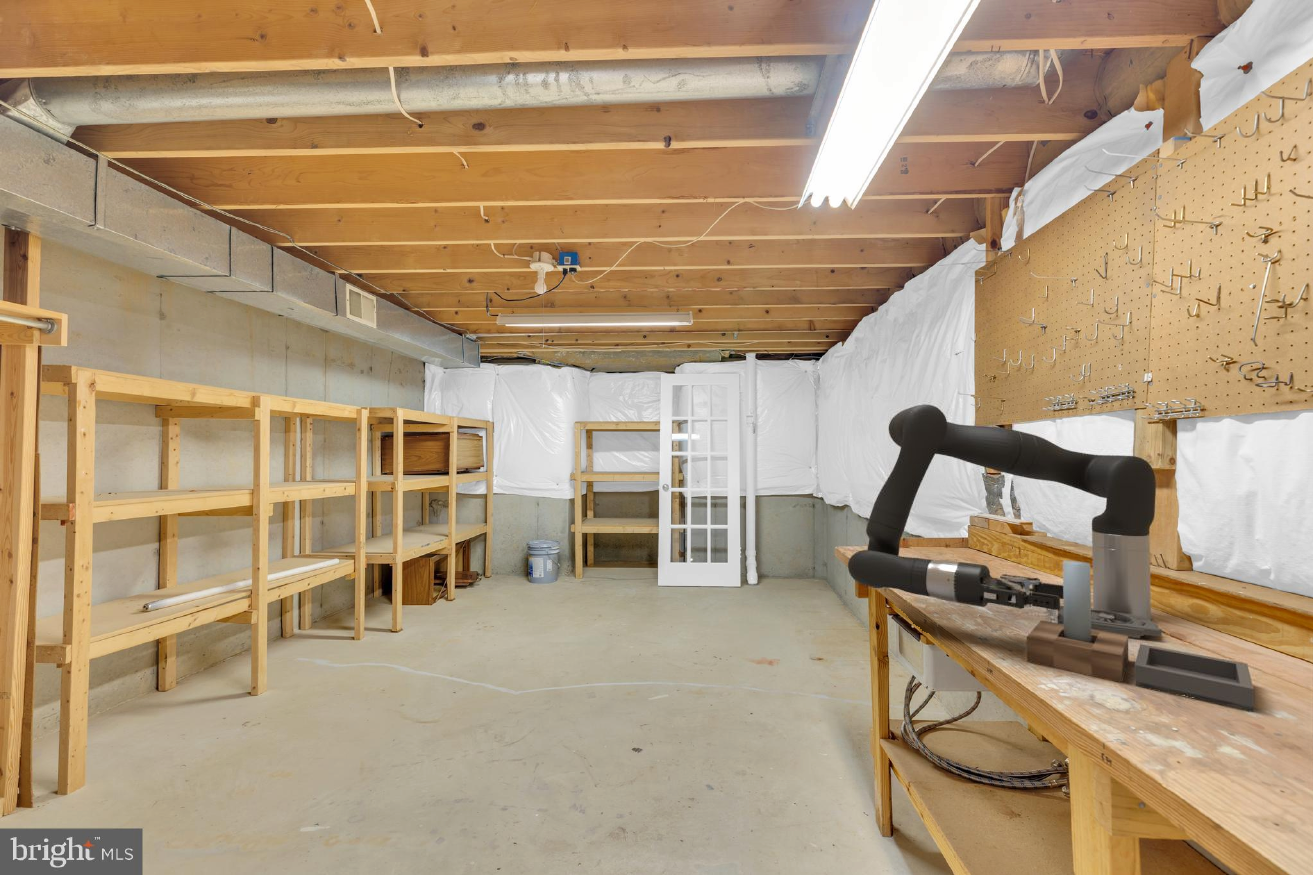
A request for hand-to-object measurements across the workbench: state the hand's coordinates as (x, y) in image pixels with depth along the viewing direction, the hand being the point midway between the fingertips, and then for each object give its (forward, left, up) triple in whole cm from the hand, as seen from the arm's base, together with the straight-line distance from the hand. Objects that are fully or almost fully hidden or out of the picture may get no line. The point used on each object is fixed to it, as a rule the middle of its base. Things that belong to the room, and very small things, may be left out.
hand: (1064, 597), depth 93 cm
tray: (0, +15, -10) cm, 18 cm away
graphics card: (-22, +3, -11) cm, 25 cm away
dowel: (0, +2, -10) cm, 10 cm away
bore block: (0, +2, -10) cm, 10 cm away
